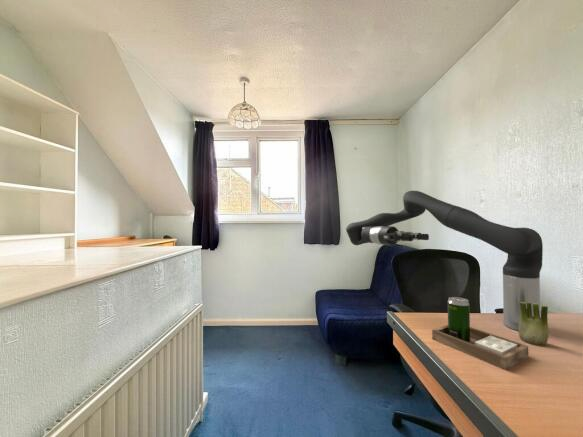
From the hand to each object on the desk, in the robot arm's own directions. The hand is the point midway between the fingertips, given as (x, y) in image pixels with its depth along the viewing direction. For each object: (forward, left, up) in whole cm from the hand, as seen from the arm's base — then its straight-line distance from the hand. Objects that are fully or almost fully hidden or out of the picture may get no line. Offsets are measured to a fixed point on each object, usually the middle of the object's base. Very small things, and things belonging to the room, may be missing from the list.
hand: (420, 237), depth 90 cm
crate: (+4, +19, -30) cm, 36 cm away
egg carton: (+4, +24, -29) cm, 38 cm away
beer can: (+4, +14, -29) cm, 33 cm away
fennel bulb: (-14, +25, -30) cm, 42 cm away
